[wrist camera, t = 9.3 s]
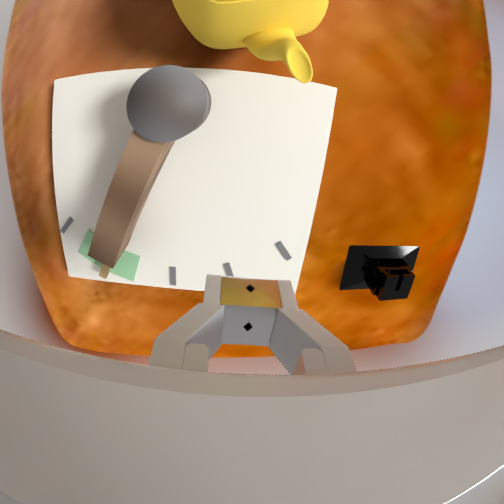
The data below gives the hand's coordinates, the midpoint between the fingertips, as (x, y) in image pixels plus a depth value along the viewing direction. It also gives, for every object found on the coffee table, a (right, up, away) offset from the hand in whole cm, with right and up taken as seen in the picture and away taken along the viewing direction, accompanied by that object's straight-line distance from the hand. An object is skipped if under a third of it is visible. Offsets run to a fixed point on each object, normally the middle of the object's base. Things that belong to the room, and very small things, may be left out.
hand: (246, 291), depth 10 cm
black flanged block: (+15, 0, +20) cm, 25 cm away
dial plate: (-6, +7, +13) cm, 17 cm away
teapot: (0, +22, +6) cm, 23 cm away
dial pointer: (-9, +7, +11) cm, 16 cm away
